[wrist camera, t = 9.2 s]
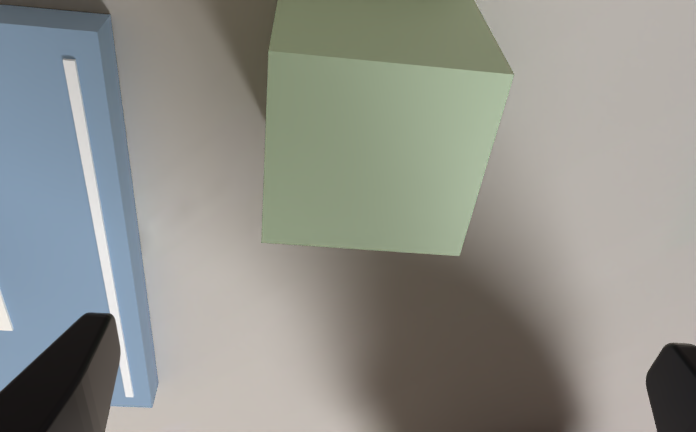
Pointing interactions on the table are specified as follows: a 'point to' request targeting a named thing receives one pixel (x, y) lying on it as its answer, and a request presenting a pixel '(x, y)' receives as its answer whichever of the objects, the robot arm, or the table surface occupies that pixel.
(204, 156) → the table surface
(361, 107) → the green block
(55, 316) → the board
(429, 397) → the table surface
